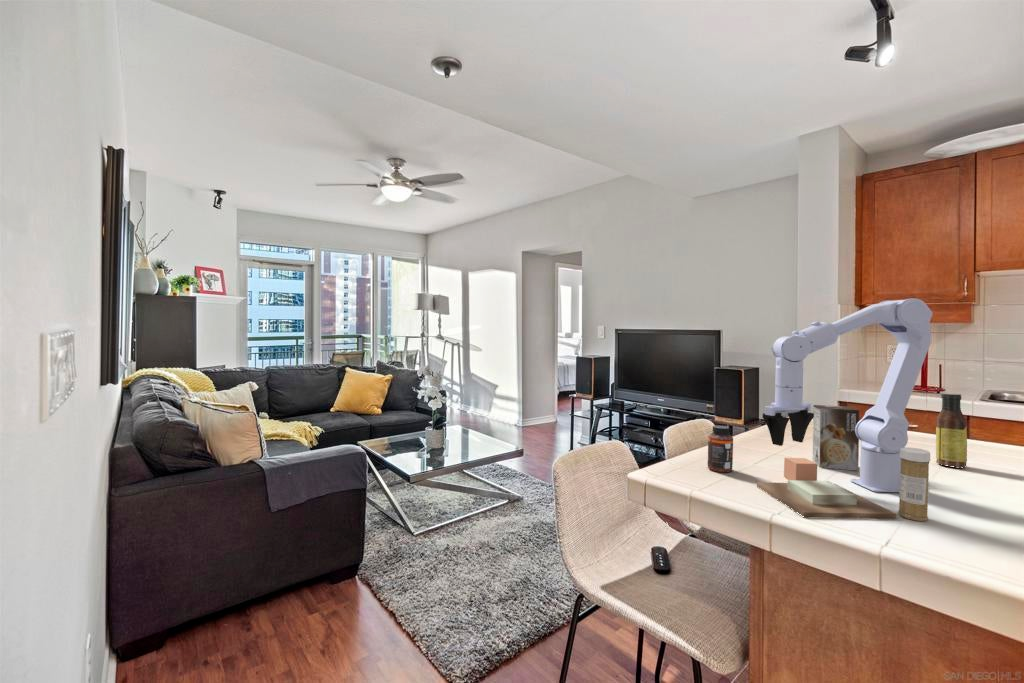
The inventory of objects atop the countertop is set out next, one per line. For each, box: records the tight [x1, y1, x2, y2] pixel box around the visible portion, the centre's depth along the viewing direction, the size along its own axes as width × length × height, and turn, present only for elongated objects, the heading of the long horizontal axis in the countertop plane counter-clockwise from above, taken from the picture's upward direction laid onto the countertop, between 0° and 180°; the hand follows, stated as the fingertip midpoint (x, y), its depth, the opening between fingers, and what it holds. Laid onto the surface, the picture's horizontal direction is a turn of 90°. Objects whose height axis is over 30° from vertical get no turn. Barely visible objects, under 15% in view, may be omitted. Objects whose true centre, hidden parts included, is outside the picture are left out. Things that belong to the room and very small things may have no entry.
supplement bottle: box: [707, 424, 734, 473], centre depth 124 cm, size 6×6×11 cm
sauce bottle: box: [935, 392, 968, 468], centre depth 130 cm, size 7×6×20 cm
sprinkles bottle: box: [897, 446, 931, 522], centre depth 94 cm, size 5×5×14 cm
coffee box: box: [811, 404, 860, 471], centre depth 129 cm, size 9×6×16 cm
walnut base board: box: [756, 479, 897, 520], centre depth 102 cm, size 18×18×3 cm
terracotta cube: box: [783, 457, 818, 481], centre depth 116 cm, size 5×5×5 cm
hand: (787, 443), depth 114 cm, fingers open, 7 cm apart
